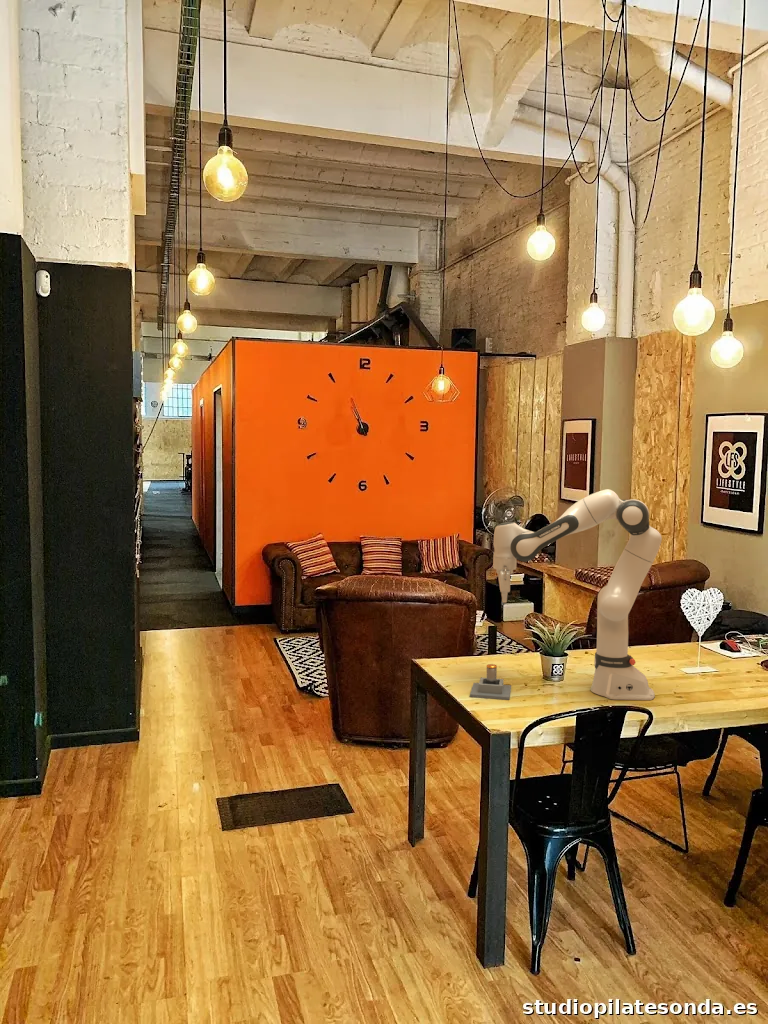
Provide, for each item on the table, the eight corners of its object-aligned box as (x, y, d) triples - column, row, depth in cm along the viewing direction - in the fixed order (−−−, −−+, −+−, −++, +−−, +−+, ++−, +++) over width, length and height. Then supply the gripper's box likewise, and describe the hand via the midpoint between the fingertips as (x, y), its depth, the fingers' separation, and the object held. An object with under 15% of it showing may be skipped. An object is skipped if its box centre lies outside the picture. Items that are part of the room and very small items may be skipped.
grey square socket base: (511, 687, 289) (511, 677, 288) (509, 700, 275) (509, 689, 275) (473, 685, 292) (473, 674, 291) (469, 697, 278) (470, 686, 278)
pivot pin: (496, 688, 285) (497, 664, 284) (495, 691, 281) (496, 667, 280) (486, 687, 285) (487, 663, 285) (485, 690, 282) (486, 666, 281)
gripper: (514, 568, 286) (513, 605, 287) (512, 560, 306) (511, 594, 307) (496, 568, 286) (496, 605, 288) (495, 560, 307) (495, 594, 308)
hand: (504, 599), depth 297 cm, fingers open, 8 cm apart
